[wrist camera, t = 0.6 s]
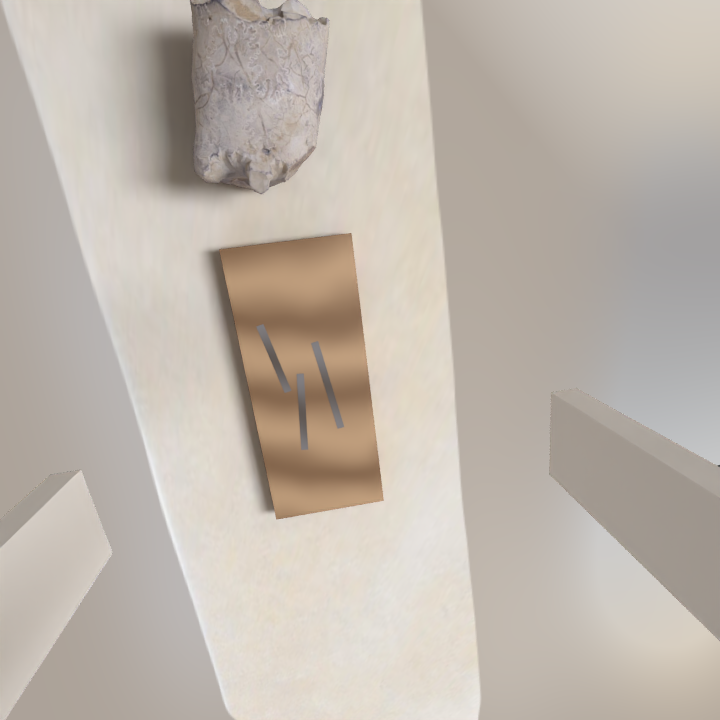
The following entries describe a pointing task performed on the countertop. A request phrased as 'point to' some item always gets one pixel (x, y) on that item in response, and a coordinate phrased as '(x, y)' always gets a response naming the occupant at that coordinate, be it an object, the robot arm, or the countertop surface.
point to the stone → (256, 90)
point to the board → (306, 371)
